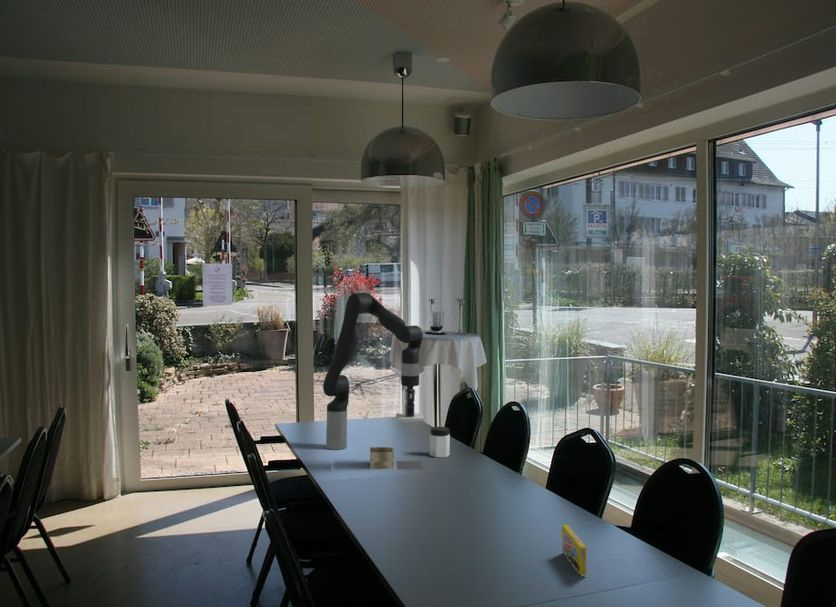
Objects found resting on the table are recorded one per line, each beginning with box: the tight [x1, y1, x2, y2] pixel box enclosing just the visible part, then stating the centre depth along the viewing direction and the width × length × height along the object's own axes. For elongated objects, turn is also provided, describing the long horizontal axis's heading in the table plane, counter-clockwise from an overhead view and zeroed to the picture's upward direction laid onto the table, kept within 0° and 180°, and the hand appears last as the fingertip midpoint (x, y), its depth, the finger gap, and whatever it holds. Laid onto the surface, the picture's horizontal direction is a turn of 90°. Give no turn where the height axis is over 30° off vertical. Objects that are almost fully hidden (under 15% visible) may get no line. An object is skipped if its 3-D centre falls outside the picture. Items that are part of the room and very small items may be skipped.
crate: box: [369, 446, 395, 470], centre depth 288 cm, size 10×10×7 cm
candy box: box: [561, 524, 587, 575], centre depth 190 cm, size 16×2×8 cm, turn 5°
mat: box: [396, 460, 424, 470], centre depth 289 cm, size 10×13×1 cm
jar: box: [429, 426, 451, 458], centre depth 307 cm, size 9×8×12 cm
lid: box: [395, 402, 425, 423], centre depth 288 cm, size 11×11×7 cm
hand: (409, 415), depth 288 cm, fingers closed on lid, 3 cm apart
